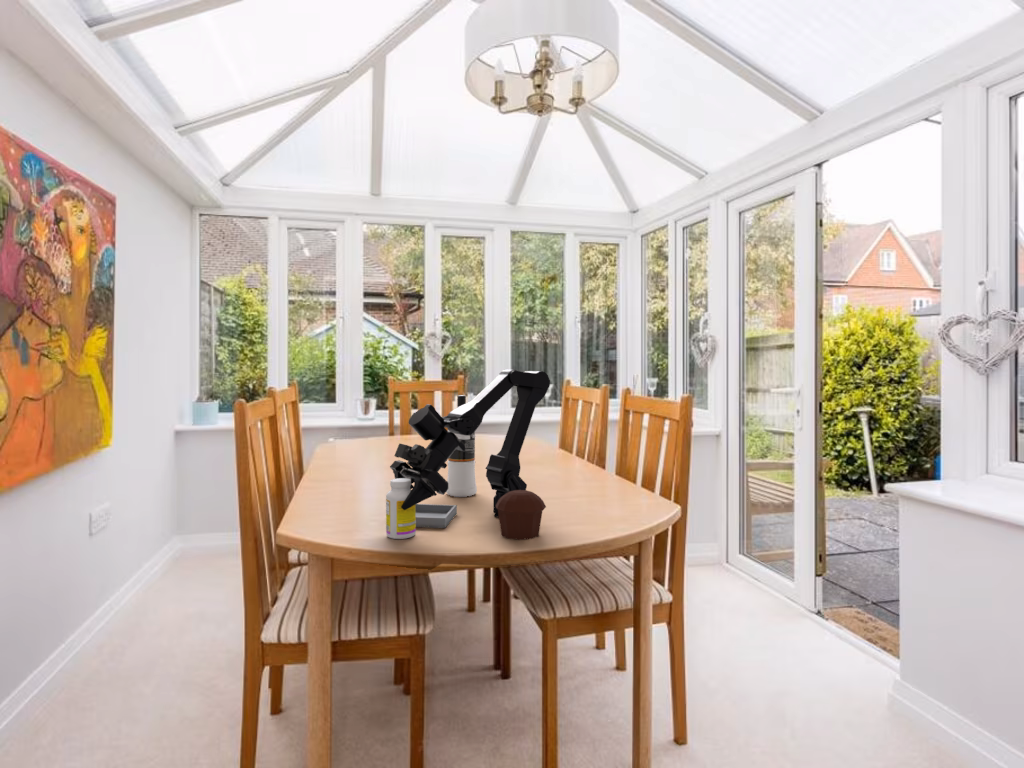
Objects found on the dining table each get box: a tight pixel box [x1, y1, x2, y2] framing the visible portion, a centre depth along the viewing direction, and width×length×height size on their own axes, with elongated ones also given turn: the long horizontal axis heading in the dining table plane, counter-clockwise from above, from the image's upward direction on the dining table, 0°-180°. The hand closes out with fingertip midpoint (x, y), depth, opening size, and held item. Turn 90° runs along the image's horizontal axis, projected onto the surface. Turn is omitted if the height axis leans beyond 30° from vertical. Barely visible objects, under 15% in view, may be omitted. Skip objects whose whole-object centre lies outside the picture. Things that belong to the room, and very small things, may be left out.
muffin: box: [495, 489, 547, 541], centre depth 138 cm, size 12×11×10 cm
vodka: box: [445, 394, 478, 498], centre depth 179 cm, size 9×9×30 cm
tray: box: [415, 503, 458, 529], centre depth 150 cm, size 13×13×2 cm
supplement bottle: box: [385, 478, 417, 540], centre depth 136 cm, size 7×7×13 cm
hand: (395, 505), depth 135 cm, fingers closed on supplement bottle, 7 cm apart
